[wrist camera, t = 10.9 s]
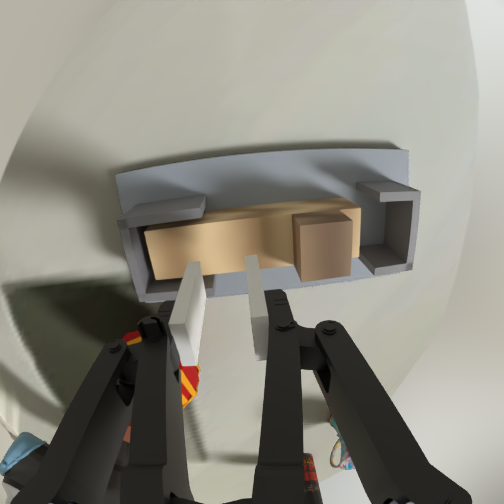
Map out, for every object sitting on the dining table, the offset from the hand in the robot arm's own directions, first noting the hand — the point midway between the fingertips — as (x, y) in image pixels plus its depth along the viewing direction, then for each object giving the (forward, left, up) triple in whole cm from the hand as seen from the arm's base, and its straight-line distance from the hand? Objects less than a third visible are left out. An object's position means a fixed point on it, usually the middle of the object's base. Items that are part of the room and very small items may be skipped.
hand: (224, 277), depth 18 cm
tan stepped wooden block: (+2, 0, -9) cm, 9 cm away
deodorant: (+8, -54, -11) cm, 56 cm away
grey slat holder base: (+5, 0, -11) cm, 11 cm away
